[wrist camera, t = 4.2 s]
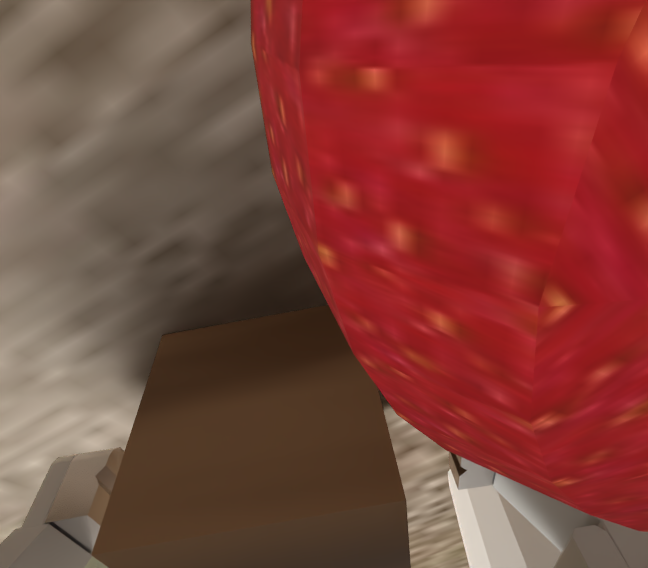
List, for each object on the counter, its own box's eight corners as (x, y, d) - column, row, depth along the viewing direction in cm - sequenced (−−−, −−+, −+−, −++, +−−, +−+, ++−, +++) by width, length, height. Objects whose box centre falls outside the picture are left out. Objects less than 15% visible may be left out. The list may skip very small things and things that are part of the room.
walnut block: (163, 333, 10) (90, 555, 6) (354, 297, 10) (406, 500, 6) (223, 439, 13) (200, 633, 9) (371, 412, 13) (412, 598, 9)
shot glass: (411, 451, 15) (492, 737, 9) (603, 388, 13) (835, 675, 8) (453, 519, 19) (529, 747, 13) (605, 475, 17) (761, 707, 12)
